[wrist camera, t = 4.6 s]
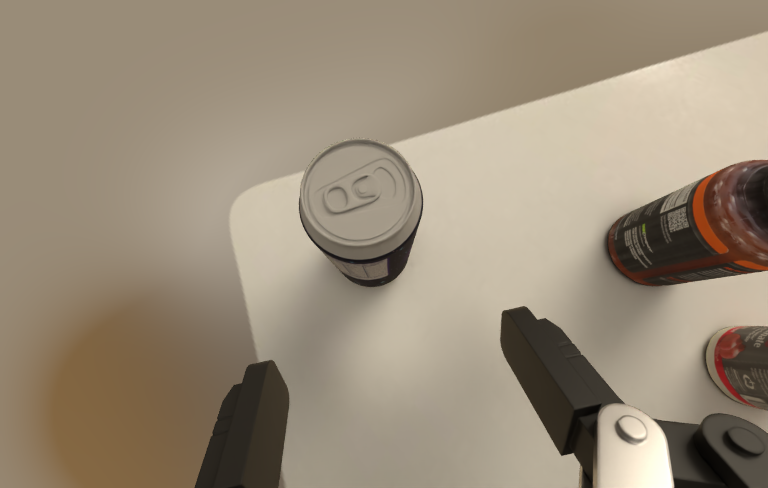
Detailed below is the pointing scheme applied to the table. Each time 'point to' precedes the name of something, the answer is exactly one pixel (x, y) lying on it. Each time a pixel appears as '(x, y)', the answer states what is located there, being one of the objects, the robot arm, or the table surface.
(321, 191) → the beverage can
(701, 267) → the supplement bottle
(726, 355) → the pill bottle
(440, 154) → the table surface
